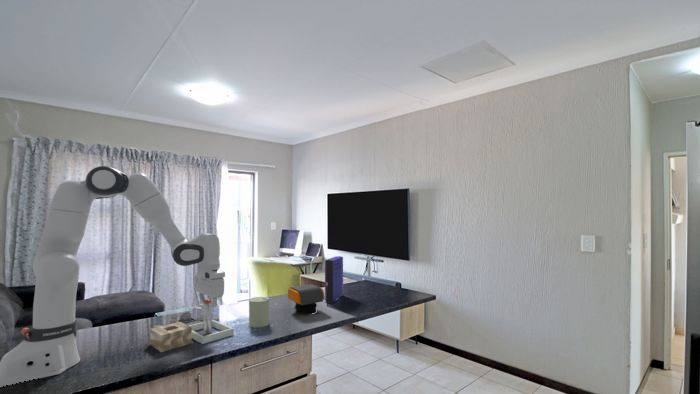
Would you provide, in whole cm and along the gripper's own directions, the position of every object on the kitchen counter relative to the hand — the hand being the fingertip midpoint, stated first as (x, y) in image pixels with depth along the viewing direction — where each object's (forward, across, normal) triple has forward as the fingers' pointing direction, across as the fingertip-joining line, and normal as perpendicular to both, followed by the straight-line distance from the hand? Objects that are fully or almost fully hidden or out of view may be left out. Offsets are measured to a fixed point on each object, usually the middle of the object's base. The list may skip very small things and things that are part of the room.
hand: (207, 304), depth 143 cm
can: (+13, +4, +23) cm, 27 cm away
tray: (+13, 0, 0) cm, 13 cm away
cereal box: (+13, -2, +78) cm, 79 cm away
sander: (+13, 0, +51) cm, 52 cm away
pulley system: (+14, -24, +2) cm, 28 cm away
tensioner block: (+13, 0, -14) cm, 19 cm away
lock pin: (+12, 0, 0) cm, 12 cm away
